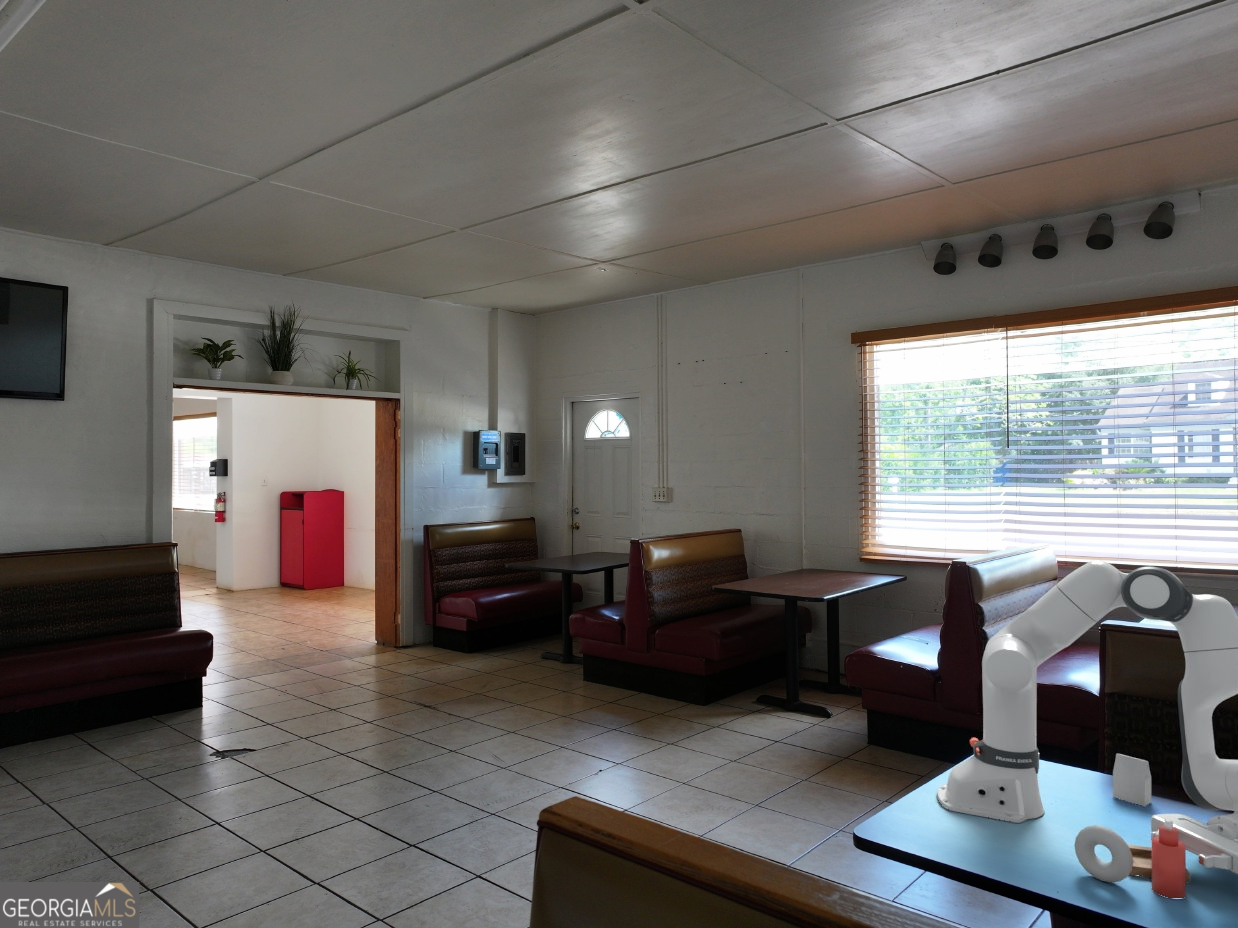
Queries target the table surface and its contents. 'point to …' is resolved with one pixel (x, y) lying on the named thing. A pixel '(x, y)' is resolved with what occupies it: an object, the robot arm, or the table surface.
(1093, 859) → the donut
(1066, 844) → the table surface
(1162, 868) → the ketchup bottle
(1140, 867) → the condiment tray
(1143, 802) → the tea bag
